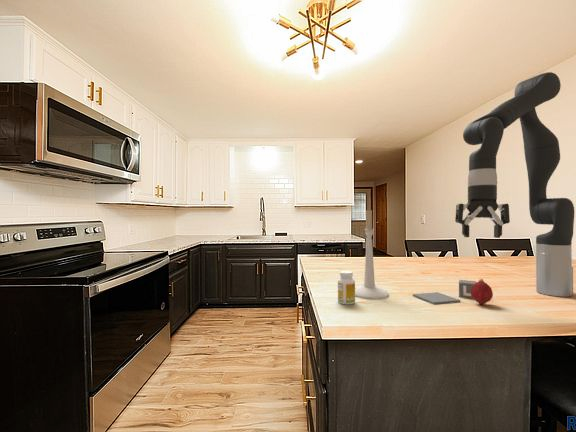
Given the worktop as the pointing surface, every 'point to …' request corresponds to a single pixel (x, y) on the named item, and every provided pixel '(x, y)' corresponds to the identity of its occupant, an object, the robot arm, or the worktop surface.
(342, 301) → the supplement bottle
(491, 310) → the worktop surface
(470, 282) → the marked cube
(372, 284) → the candlestick
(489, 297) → the onion
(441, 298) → the mat
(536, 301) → the worktop surface
